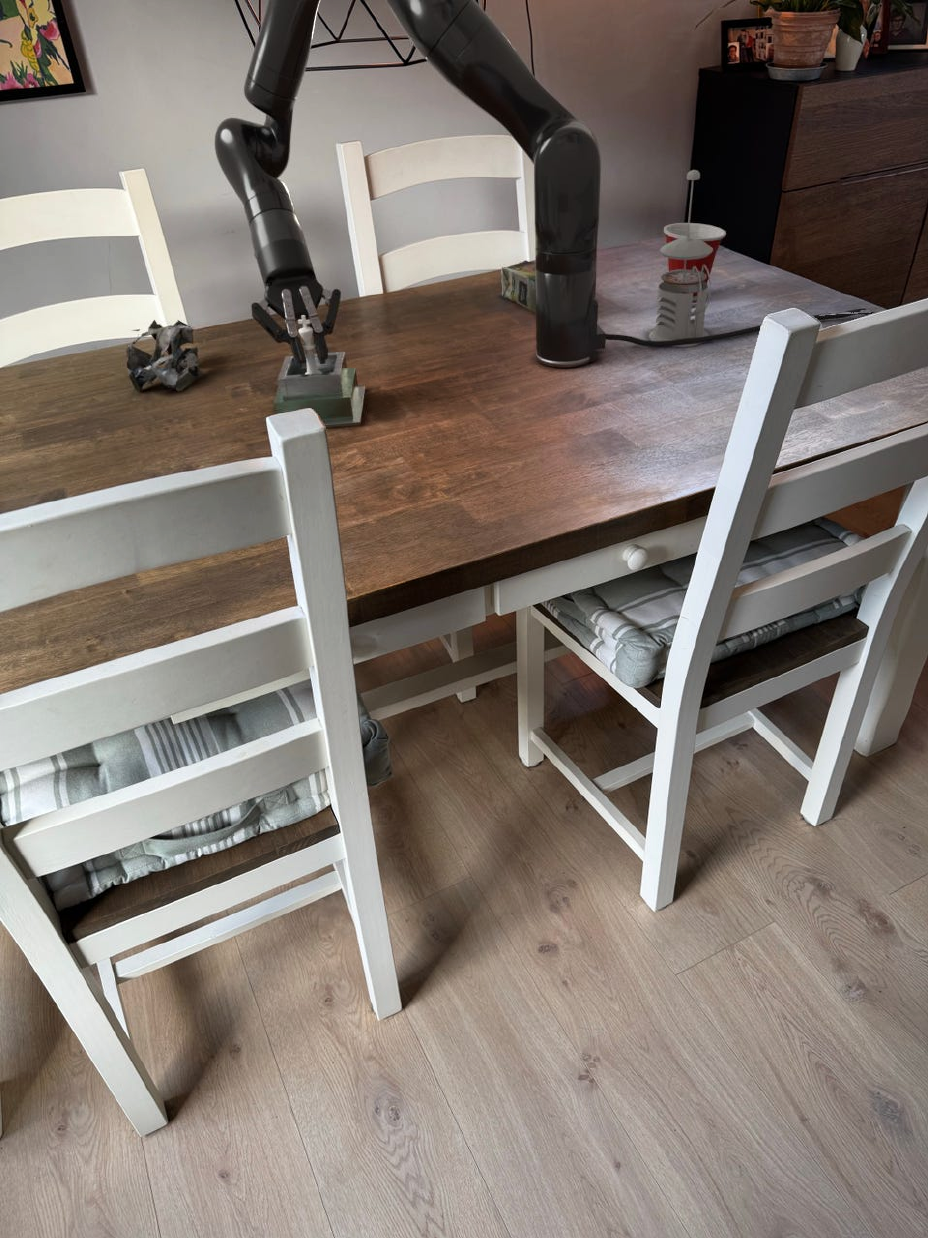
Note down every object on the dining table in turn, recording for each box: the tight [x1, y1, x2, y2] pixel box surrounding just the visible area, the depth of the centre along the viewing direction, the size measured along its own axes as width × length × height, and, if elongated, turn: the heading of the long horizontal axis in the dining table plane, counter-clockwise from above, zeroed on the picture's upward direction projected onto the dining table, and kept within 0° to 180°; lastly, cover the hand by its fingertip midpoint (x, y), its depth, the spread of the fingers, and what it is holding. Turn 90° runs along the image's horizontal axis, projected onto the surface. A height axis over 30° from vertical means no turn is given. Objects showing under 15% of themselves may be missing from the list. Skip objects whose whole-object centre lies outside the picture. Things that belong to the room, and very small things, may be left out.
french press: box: [648, 169, 713, 348], centre depth 134 cm, size 10×12×25 cm
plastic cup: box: [663, 222, 727, 303], centre depth 154 cm, size 11×11×12 cm
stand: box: [272, 351, 366, 429], centre depth 126 cm, size 13×13×7 cm
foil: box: [125, 319, 204, 393], centre depth 140 cm, size 12×11×15 cm
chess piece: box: [297, 315, 321, 374], centre depth 123 cm, size 5×5×10 cm
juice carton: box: [500, 259, 536, 314], centre depth 158 cm, size 20×10×6 cm, turn 27°
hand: (313, 362), depth 122 cm, fingers closed on chess piece
